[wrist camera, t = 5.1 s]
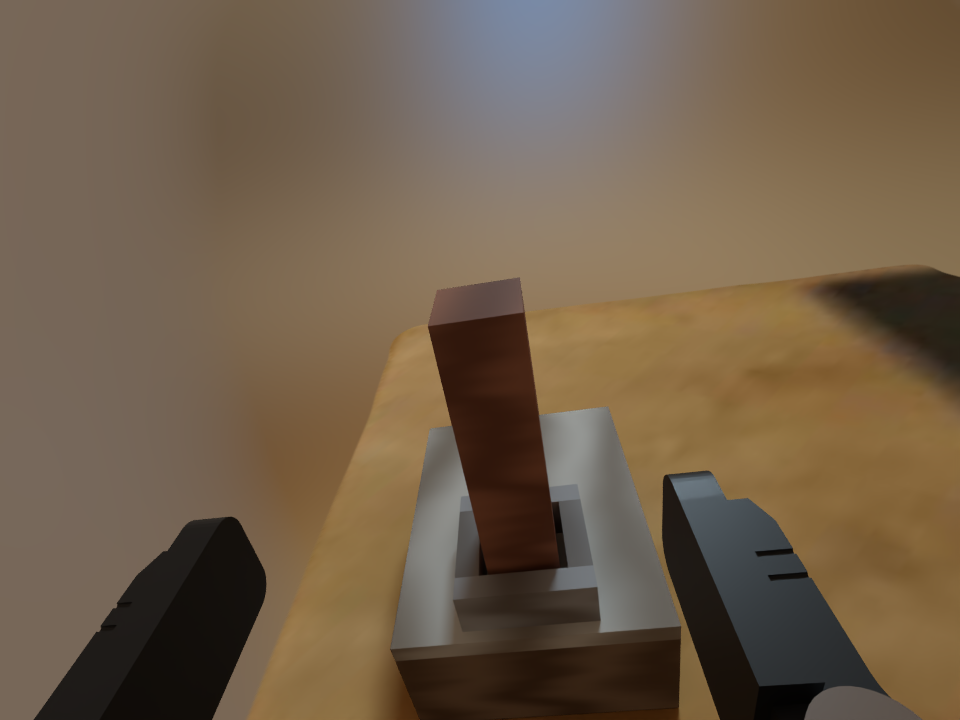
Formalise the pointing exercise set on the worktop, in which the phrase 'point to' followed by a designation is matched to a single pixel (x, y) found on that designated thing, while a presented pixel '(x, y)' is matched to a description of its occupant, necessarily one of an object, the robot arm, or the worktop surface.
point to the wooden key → (496, 421)
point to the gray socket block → (538, 593)
